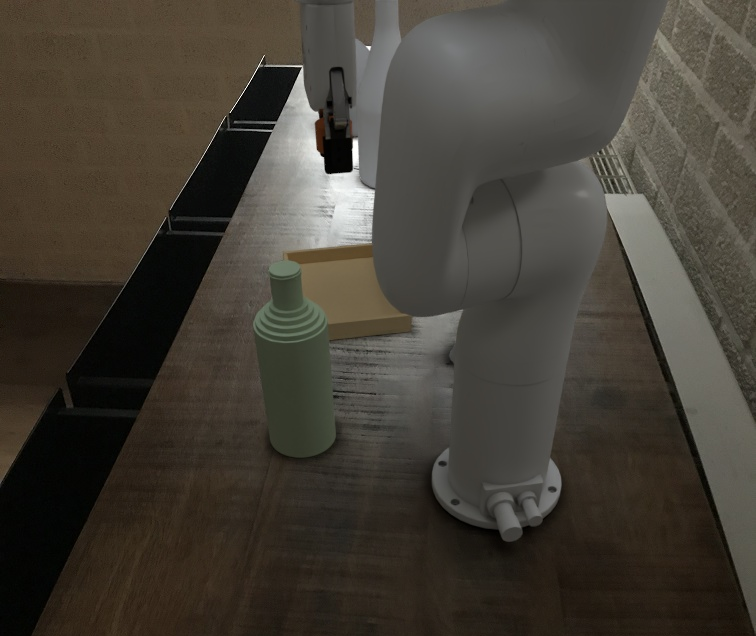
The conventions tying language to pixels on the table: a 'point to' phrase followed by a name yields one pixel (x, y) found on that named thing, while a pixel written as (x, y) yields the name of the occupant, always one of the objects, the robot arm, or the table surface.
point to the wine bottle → (376, 86)
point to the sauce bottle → (295, 366)
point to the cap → (321, 132)
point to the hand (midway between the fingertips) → (336, 162)
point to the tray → (348, 291)
